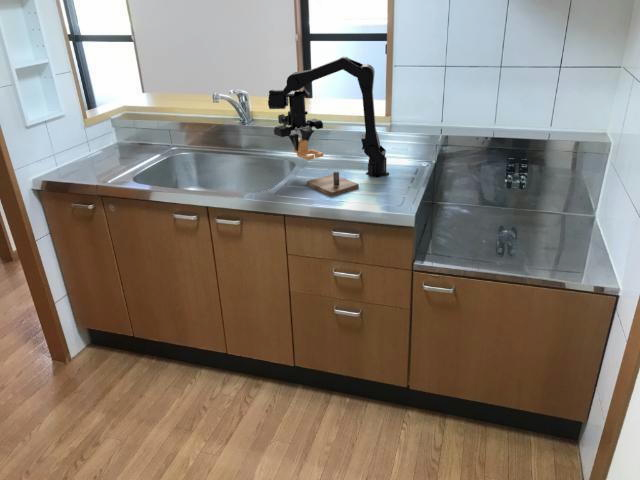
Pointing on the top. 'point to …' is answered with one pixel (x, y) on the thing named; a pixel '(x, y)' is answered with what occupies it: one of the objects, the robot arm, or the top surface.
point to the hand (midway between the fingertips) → (300, 150)
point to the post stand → (332, 184)
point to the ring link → (306, 150)
